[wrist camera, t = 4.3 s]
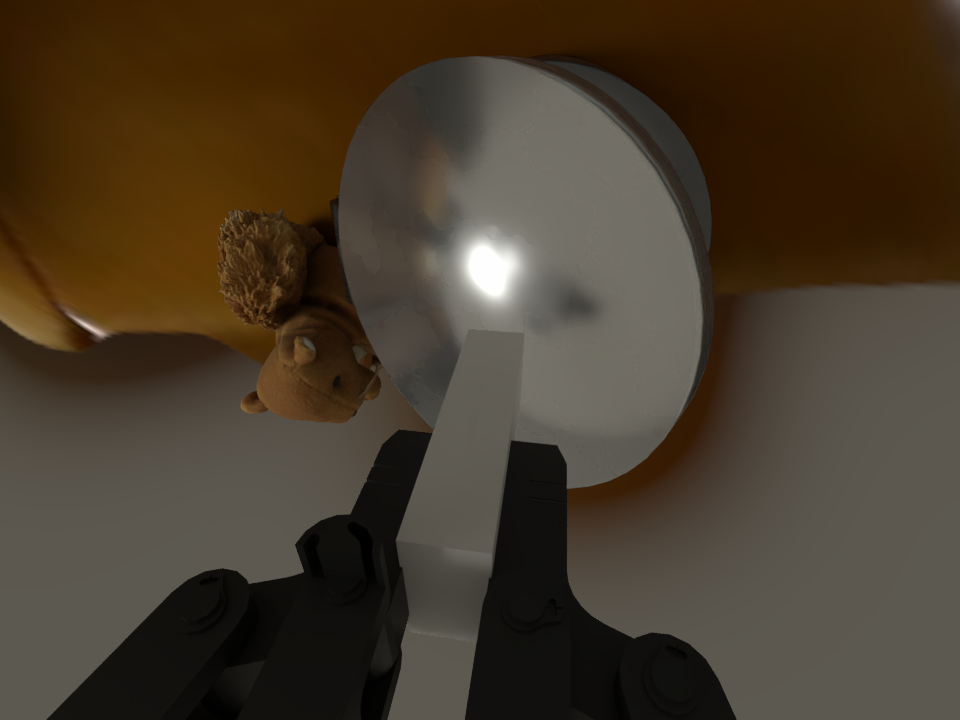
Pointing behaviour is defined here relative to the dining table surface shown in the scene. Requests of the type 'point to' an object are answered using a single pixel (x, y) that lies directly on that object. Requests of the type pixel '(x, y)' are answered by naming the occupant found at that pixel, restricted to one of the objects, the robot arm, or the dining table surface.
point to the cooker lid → (528, 252)
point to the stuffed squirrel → (296, 318)
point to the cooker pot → (649, 130)
